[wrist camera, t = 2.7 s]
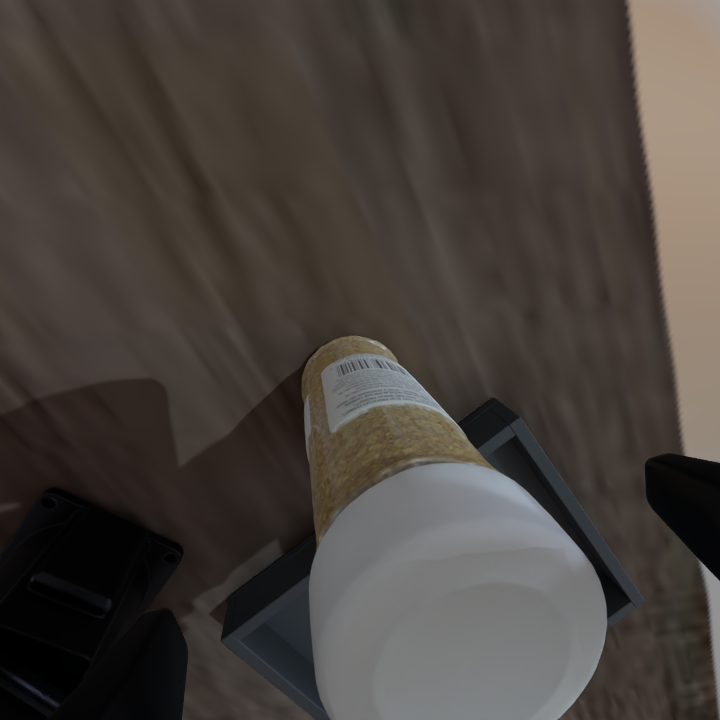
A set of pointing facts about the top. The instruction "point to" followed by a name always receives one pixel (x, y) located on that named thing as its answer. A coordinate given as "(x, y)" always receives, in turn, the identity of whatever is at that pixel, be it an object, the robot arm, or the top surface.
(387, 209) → the top surface
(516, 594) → the sprinkles bottle
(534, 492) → the tray
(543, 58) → the top surface
